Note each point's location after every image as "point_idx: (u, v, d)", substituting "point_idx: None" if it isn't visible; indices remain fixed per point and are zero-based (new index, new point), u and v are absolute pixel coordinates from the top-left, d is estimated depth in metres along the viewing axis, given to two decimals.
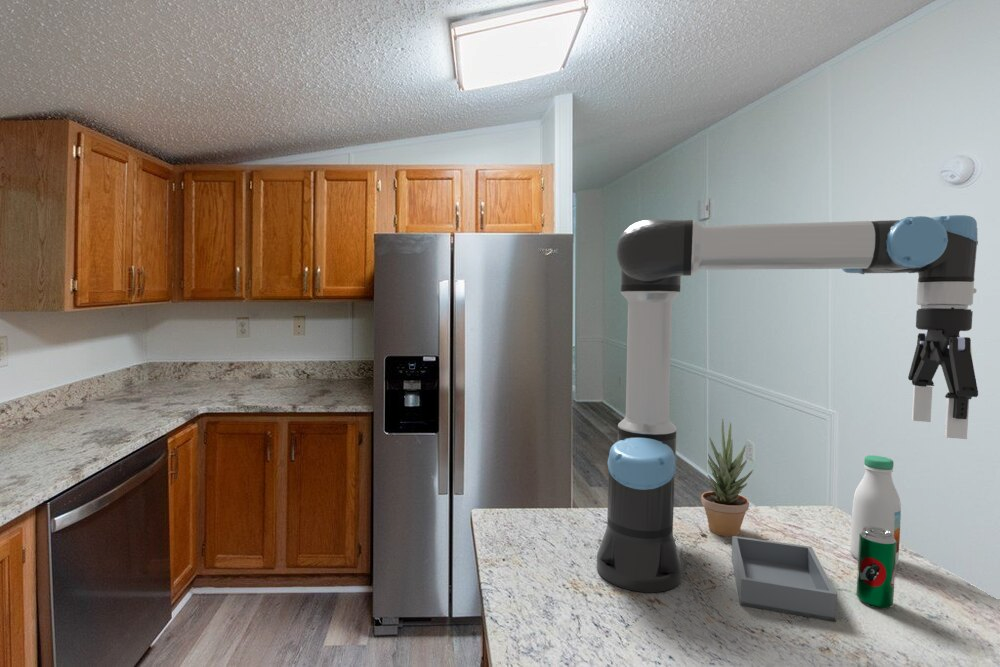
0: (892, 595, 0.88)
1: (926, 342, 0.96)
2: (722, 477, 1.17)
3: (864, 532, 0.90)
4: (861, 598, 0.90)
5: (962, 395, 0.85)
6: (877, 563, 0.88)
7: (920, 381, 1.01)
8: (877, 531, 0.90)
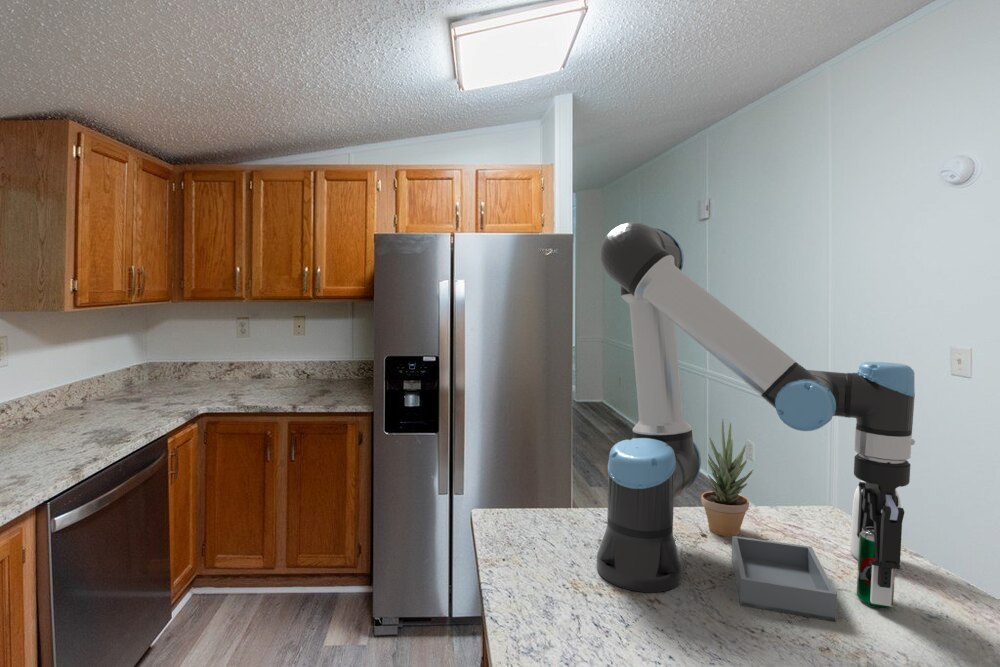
0: (892, 595, 0.88)
1: (864, 489, 0.91)
2: (722, 477, 1.17)
3: (864, 532, 0.90)
4: (861, 598, 0.90)
5: (884, 567, 0.85)
6: None
7: None
8: None
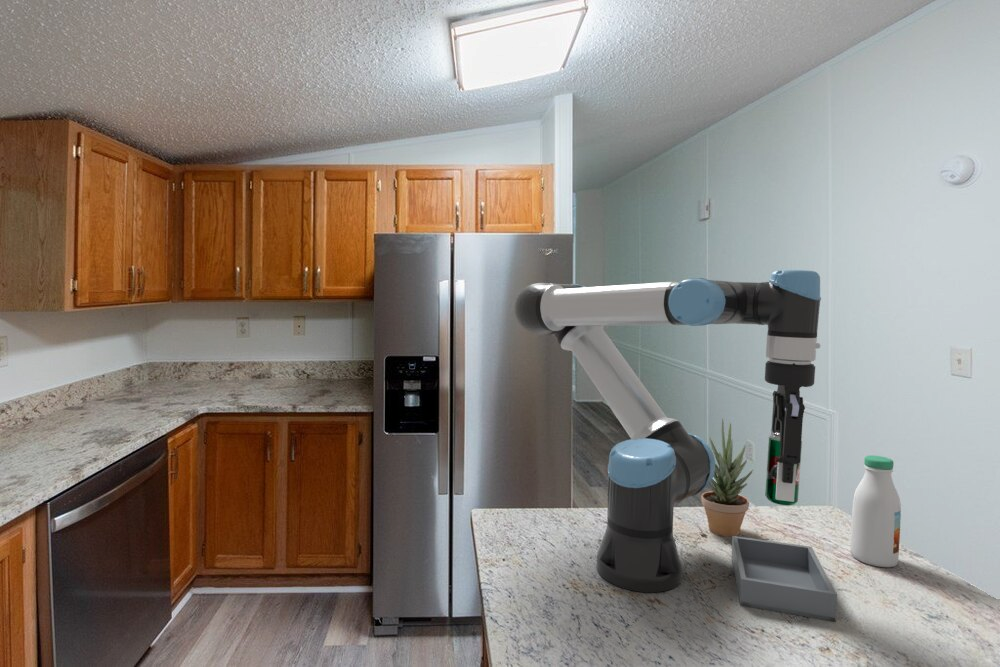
0: (796, 492, 0.92)
1: (774, 394, 0.95)
2: (722, 477, 1.17)
3: (772, 434, 0.94)
4: (768, 497, 0.94)
5: (786, 461, 0.88)
6: None
7: None
8: None
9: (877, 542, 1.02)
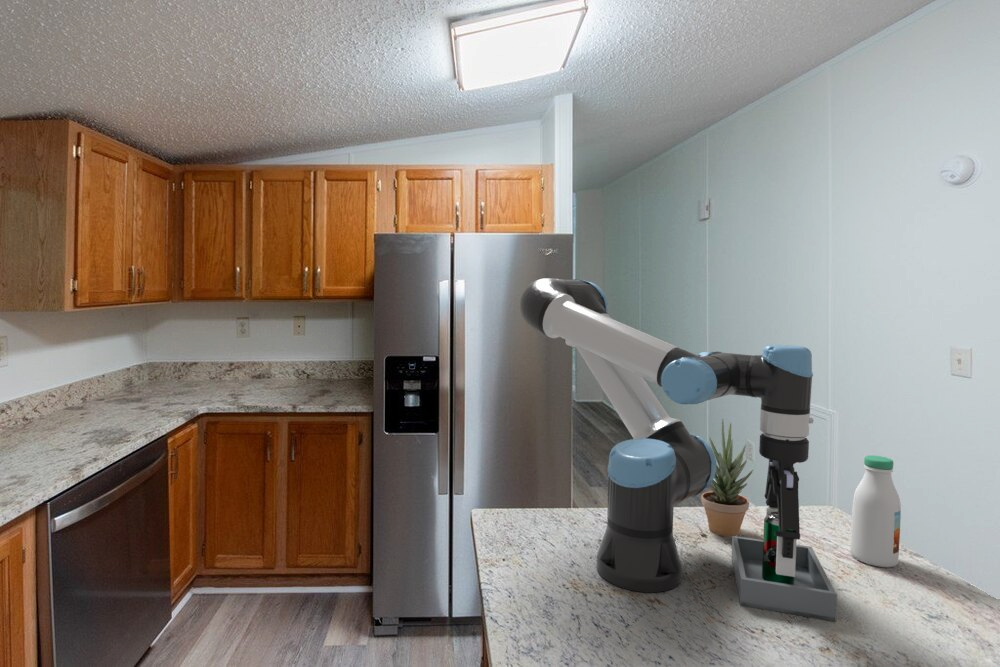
0: None
1: (769, 467, 0.95)
2: (722, 477, 1.17)
3: (767, 516, 0.95)
4: (764, 579, 0.95)
5: (785, 537, 0.86)
6: None
7: (772, 502, 1.01)
8: None
9: (877, 542, 1.02)
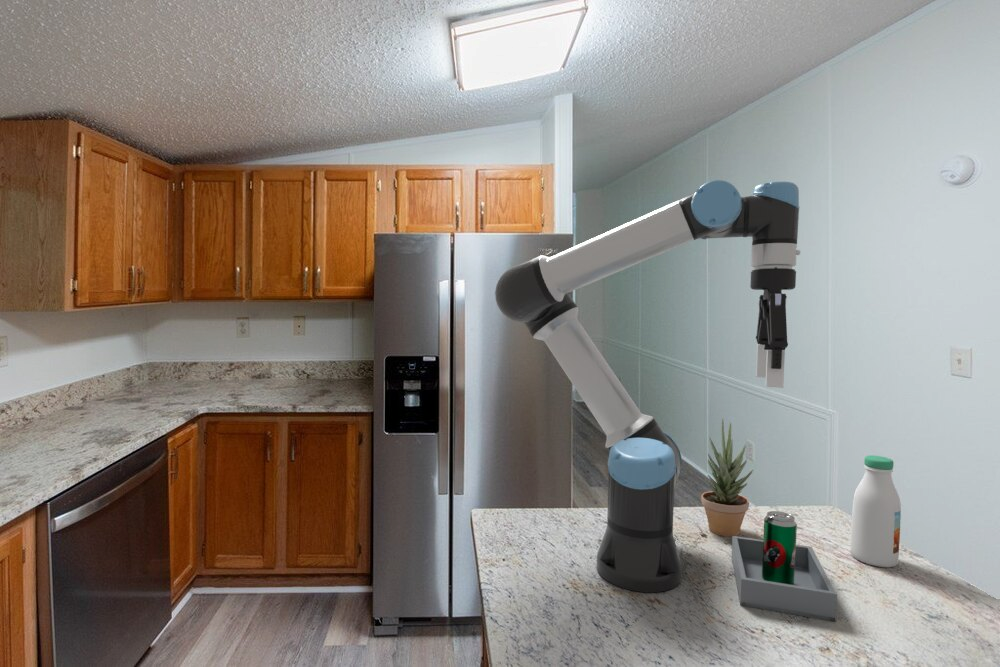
0: (792, 576, 0.93)
1: (759, 301, 1.03)
2: (722, 477, 1.17)
3: (768, 516, 0.95)
4: (764, 579, 0.95)
5: (774, 346, 0.93)
6: (778, 545, 0.93)
7: (763, 340, 1.09)
8: (780, 515, 0.95)
9: (877, 542, 1.02)
